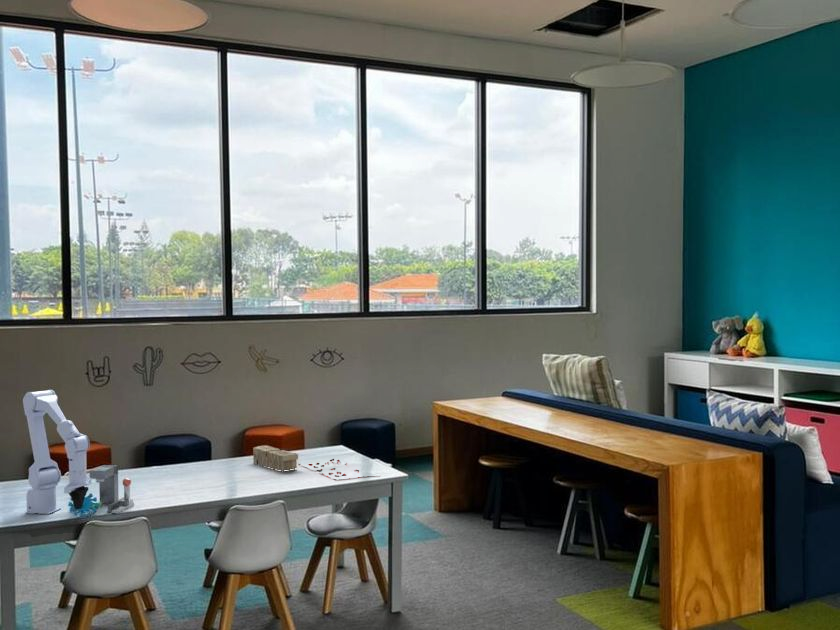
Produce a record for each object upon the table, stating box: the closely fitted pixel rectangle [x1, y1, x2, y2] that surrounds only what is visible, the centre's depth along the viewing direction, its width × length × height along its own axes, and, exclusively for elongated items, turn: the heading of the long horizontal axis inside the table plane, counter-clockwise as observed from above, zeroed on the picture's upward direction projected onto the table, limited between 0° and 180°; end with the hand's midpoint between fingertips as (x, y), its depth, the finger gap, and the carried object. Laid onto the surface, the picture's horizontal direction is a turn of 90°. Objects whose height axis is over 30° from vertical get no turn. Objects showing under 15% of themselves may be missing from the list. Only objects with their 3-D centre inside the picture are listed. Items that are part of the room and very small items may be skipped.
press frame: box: [70, 464, 135, 515], centre depth 308 cm, size 19×16×14 cm
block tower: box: [252, 444, 299, 471], centre depth 379 cm, size 8×8×29 cm
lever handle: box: [121, 477, 134, 505], centre depth 308 cm, size 3×3×10 cm
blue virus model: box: [67, 493, 102, 518], centre depth 299 cm, size 11×6×10 cm
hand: (78, 508), depth 293 cm, fingers closed
